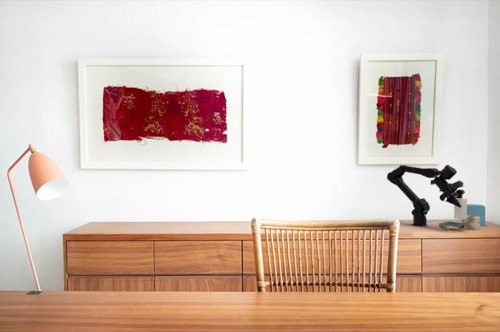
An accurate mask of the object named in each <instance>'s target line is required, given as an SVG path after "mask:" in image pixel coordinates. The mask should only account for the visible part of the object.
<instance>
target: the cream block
mask: <svg viewBox="0 0 500 332" xmlns="http://www.w3.org/2000/svg"><path fill="white" fill-rule="evenodd" d="M456 199H457V201H458V202H459V203H460V205H461V207H460V208H459V207H457V206H455V205H453V219H456V220H462V219H467V204H468V198H463V197H462V198H456Z"/></svg>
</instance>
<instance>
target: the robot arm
mask: <svg viewBox="0 0 500 332" xmlns="http://www.w3.org/2000/svg"><path fill="white" fill-rule="evenodd" d="M405 173H408V174H416V175H420V176H423V177H425V178H428V179H431V180H430V184H429V185H431V186H433V185H436V186H437V188H438V189H439V192H440V193H442V194H440V195H439V200H440V201H441V202H445V203H449V204H450V205H453V206H454V205H455V206H457V207H459V208H460V207H461V205H460V203H459V202H458V201H457V199H456V198H463V195H464V194H465V193H466V191H465V190H464V189H460V188H463V187H464V182H463V181H462V180H461V179H460V180H458V181H457V180H456V181H455V182H453V183H450V182H448V181H450V180H451V179H452V178H454V176H455V175H457V173H458V172H457V170H456V168H453V167H452V166H450V165H449V164H446V165H444V167H443V168H442V169H441V170H439V169H438V168H436V167H429V168H428V167H427V168H426V167H425V168H423V167H417V166H410V165H406V164H404V165H403V164H401V165H399V166H398V167H397V168H395V169H393V170H391V171H389V172H387V174H386V179H387V181H388V182H390V183H391V184H393V185H395V186H397V188H399V190H400V191H401V192H402V193H403V195H405V196H406V197H407V199H409V200H410V202H411V203H412V206H413V210H412V211H411V215H412V217H413V219H412V224H411V226H418V227H424V226H427V225H428V223H427V215H428V212H430V210H431V209H430V208H431V206H430V202H428V201H427V200H426V198H423V197H422V198H420V197H419V195H417V194H416V193H415V192H414V191H413V190H412V189H411V188H410V187H409V185H407V183H406V182H405V181H404V178H403V176H404V175H405ZM447 180H448V181H447Z"/></svg>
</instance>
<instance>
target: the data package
mask: <svg viewBox="0 0 500 332" xmlns="http://www.w3.org/2000/svg"><path fill="white" fill-rule="evenodd" d="M467 216H477V217H480V227H481V226H485V225H486V206H485V205H483V204H478V203H477V204H476V203H474V204H472V203H471V204H470V203H469V204H468V203H467ZM461 223H464V219H461Z"/></svg>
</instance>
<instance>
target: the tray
mask: <svg viewBox="0 0 500 332" xmlns="http://www.w3.org/2000/svg"><path fill="white" fill-rule="evenodd" d="M440 225H446V226H454V227H459V230H462V229H461V228H463V229H464V223H462V222H457V221H456V222H454V221H448V220H447V221H444V222H443V221H442V222H440V223H439V222H438V227H439V228H440Z"/></svg>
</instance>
